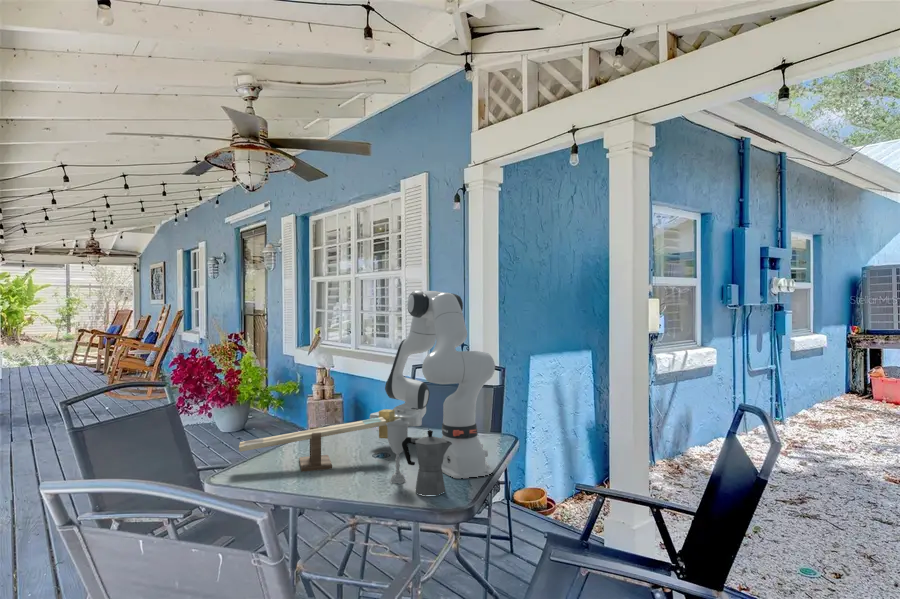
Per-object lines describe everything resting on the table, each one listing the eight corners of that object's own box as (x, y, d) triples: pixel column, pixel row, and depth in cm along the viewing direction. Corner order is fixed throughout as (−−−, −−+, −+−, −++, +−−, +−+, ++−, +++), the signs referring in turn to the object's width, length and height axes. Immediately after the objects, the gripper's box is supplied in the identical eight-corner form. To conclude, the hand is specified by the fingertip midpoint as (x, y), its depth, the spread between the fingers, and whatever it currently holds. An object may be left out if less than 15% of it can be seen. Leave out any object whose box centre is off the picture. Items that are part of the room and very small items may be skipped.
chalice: (409, 477, 172) (409, 421, 172) (409, 484, 165) (408, 425, 165) (386, 477, 171) (386, 421, 172) (385, 484, 165) (384, 425, 165)
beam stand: (332, 468, 181) (332, 433, 182) (301, 471, 178) (301, 435, 178) (328, 458, 195) (327, 424, 195) (299, 460, 192) (299, 426, 192)
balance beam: (386, 425, 191) (386, 420, 191) (239, 451, 176) (238, 446, 176) (382, 421, 198) (382, 416, 198) (240, 446, 182) (240, 441, 182)
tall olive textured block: (394, 436, 205) (394, 409, 205) (389, 438, 201) (389, 411, 201) (384, 435, 206) (384, 409, 207) (379, 437, 202) (378, 411, 202)
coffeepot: (456, 488, 161) (455, 428, 162) (447, 499, 152) (447, 435, 152) (407, 484, 165) (407, 425, 166) (396, 494, 156) (396, 432, 157)
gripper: (379, 406, 219) (361, 412, 207) (425, 409, 212) (409, 416, 199) (379, 422, 219) (361, 429, 206) (425, 425, 212) (410, 433, 199)
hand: (385, 422), depth 203 cm, fingers closed on tall olive textured block, 4 cm apart
